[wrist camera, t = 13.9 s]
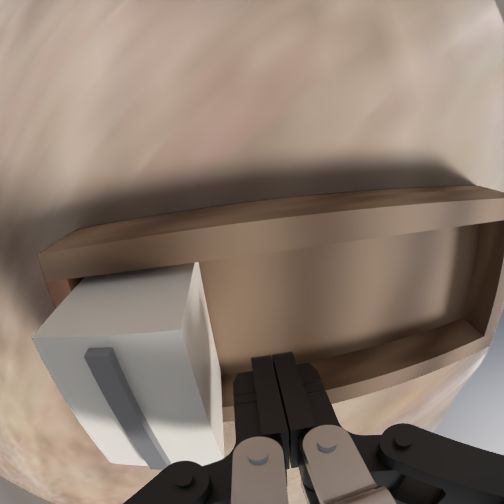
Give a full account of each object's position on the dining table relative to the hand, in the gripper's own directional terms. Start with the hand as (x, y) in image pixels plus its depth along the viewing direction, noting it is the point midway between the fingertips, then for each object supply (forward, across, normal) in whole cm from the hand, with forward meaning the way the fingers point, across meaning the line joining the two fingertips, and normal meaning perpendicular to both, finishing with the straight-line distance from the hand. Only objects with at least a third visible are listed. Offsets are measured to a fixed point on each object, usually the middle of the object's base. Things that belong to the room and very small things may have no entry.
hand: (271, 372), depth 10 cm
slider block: (+4, +5, 0) cm, 6 cm away
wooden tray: (+6, -3, 0) cm, 7 cm away
